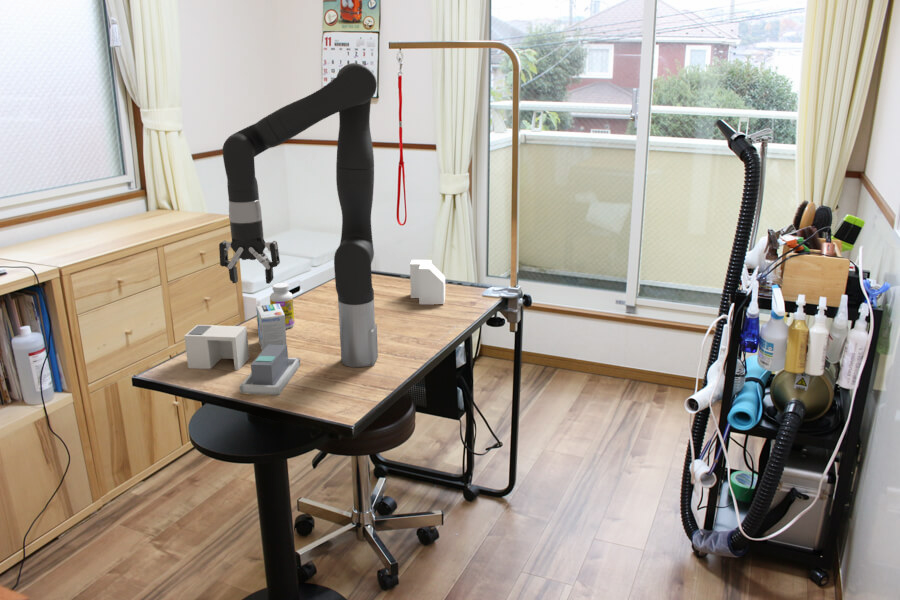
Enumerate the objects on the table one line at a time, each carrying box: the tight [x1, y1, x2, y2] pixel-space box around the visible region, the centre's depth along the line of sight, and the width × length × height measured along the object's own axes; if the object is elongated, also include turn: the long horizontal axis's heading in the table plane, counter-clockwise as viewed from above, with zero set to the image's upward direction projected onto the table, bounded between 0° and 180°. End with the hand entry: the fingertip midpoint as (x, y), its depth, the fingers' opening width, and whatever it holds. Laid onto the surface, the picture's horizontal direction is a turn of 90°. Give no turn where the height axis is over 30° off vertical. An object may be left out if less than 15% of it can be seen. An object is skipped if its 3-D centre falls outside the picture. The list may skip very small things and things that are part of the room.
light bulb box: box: [255, 304, 288, 352], centre depth 206 cm, size 11×7×11 cm, turn 21°
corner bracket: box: [409, 259, 446, 305], centre depth 244 cm, size 11×11×12 cm
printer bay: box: [183, 324, 250, 371], centre depth 195 cm, size 14×8×9 cm, turn 85°
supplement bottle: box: [269, 282, 295, 330], centre depth 221 cm, size 7×7×13 cm
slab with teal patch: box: [250, 344, 289, 385], centre depth 186 cm, size 5×13×6 cm, turn 175°
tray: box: [239, 357, 301, 396], centre depth 187 cm, size 10×18×2 cm, turn 175°
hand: (252, 282), depth 185 cm, fingers open, 8 cm apart
